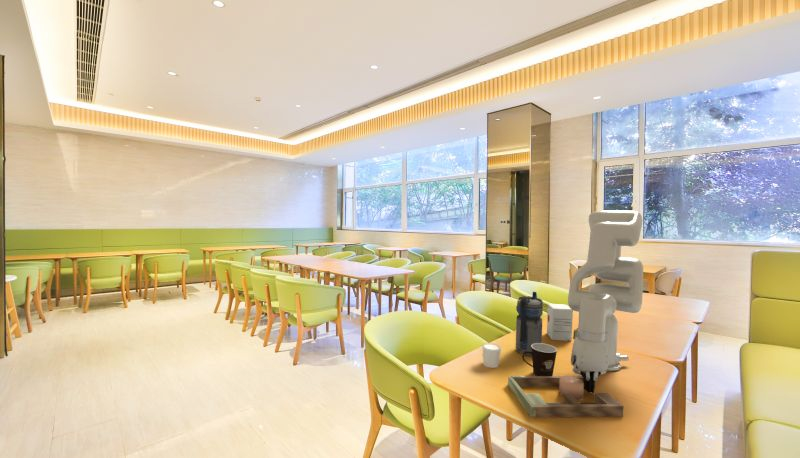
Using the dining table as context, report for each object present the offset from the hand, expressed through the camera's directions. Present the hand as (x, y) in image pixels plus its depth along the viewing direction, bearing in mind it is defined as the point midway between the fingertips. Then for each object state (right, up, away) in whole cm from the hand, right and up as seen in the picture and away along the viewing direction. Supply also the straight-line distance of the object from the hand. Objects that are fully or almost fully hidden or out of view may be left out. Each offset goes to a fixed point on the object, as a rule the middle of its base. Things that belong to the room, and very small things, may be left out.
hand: (588, 390), depth 111 cm
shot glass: (-26, 0, +21) cm, 33 cm away
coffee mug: (-11, -1, +14) cm, 17 cm away
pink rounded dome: (-6, -1, 0) cm, 6 cm away
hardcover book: (+34, 0, +56) cm, 65 cm away
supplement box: (+14, +1, +52) cm, 54 cm away
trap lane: (-11, -1, -3) cm, 11 cm away
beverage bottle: (-8, 0, +33) cm, 34 cm away
